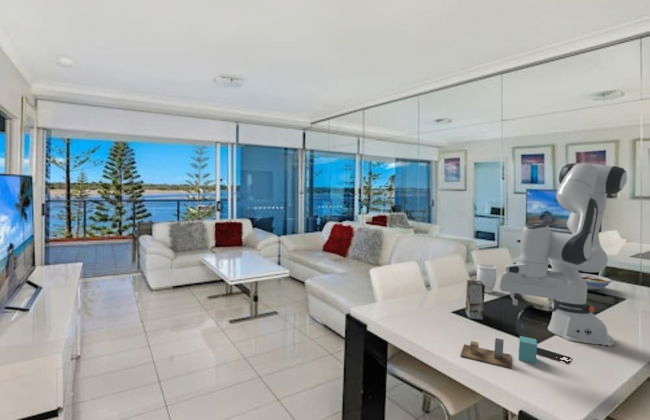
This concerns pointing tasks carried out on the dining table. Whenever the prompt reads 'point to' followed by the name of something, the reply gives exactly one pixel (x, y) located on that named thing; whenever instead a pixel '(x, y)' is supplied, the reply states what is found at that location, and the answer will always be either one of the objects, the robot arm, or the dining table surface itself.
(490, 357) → the board
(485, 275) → the jar
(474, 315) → the coffee box
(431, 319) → the dining table surface
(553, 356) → the smartphone
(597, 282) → the ramen bowl
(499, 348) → the steel post
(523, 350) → the teal block
